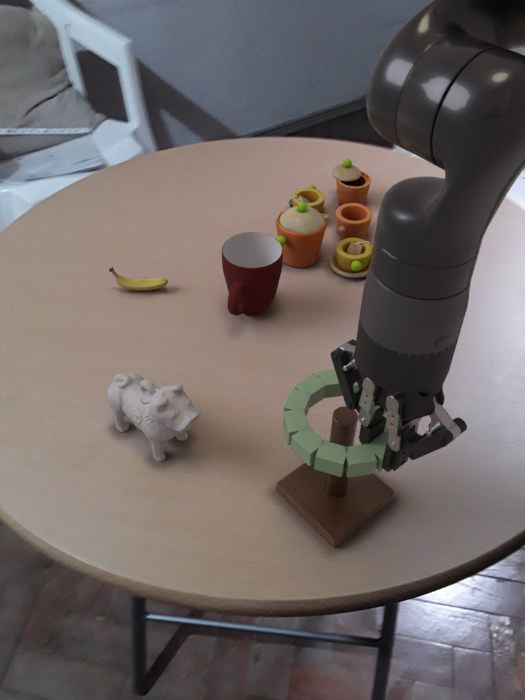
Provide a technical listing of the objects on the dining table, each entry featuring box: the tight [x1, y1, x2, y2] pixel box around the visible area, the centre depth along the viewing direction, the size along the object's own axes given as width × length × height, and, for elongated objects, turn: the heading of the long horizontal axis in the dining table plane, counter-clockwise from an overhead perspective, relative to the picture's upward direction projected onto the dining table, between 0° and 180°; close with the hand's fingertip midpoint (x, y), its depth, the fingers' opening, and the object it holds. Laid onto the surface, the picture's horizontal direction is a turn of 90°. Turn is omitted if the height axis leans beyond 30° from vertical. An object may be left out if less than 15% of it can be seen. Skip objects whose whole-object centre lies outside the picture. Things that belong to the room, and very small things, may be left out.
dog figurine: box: [105, 372, 202, 462], centre depth 76 cm, size 5×13×11 cm, turn 51°
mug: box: [221, 231, 284, 317], centre depth 92 cm, size 11×8×10 cm
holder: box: [275, 405, 396, 549], centre depth 69 cm, size 9×9×14 cm
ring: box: [282, 368, 389, 478], centre depth 65 cm, size 12×12×2 cm
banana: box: [108, 266, 169, 291], centre depth 97 cm, size 8×2×4 cm, turn 90°
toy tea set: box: [275, 158, 373, 279], centre depth 106 cm, size 26×16×10 cm, turn 174°
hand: (381, 455), depth 63 cm, fingers closed on ring, 2 cm apart
